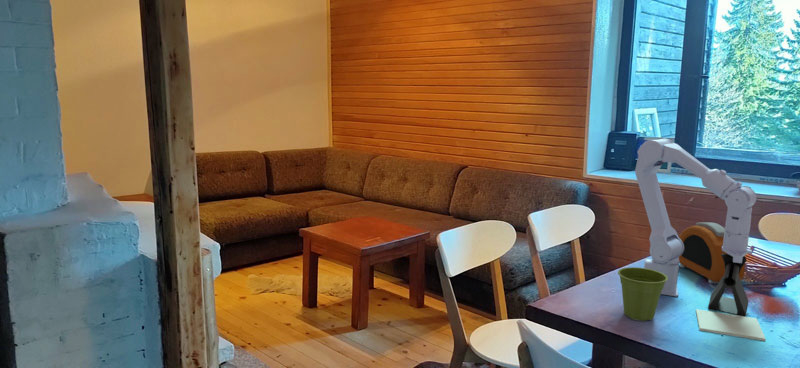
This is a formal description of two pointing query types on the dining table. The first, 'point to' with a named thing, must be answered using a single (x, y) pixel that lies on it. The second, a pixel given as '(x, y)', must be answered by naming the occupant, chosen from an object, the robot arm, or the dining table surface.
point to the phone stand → (740, 299)
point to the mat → (729, 324)
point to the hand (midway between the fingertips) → (730, 281)
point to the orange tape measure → (705, 251)
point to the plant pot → (641, 291)
